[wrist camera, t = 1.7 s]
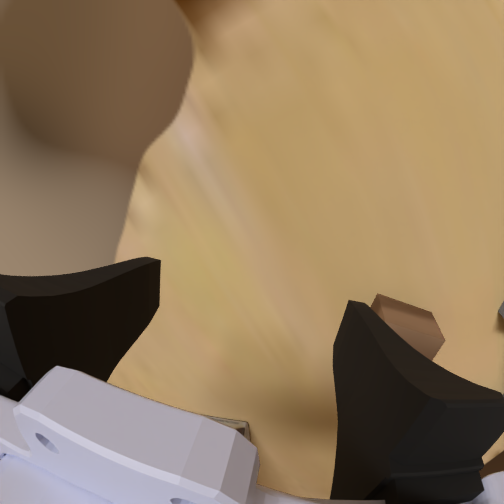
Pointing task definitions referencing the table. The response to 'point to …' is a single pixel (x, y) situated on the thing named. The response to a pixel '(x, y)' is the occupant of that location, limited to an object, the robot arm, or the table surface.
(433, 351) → the walnut block
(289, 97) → the table surface
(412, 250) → the table surface
